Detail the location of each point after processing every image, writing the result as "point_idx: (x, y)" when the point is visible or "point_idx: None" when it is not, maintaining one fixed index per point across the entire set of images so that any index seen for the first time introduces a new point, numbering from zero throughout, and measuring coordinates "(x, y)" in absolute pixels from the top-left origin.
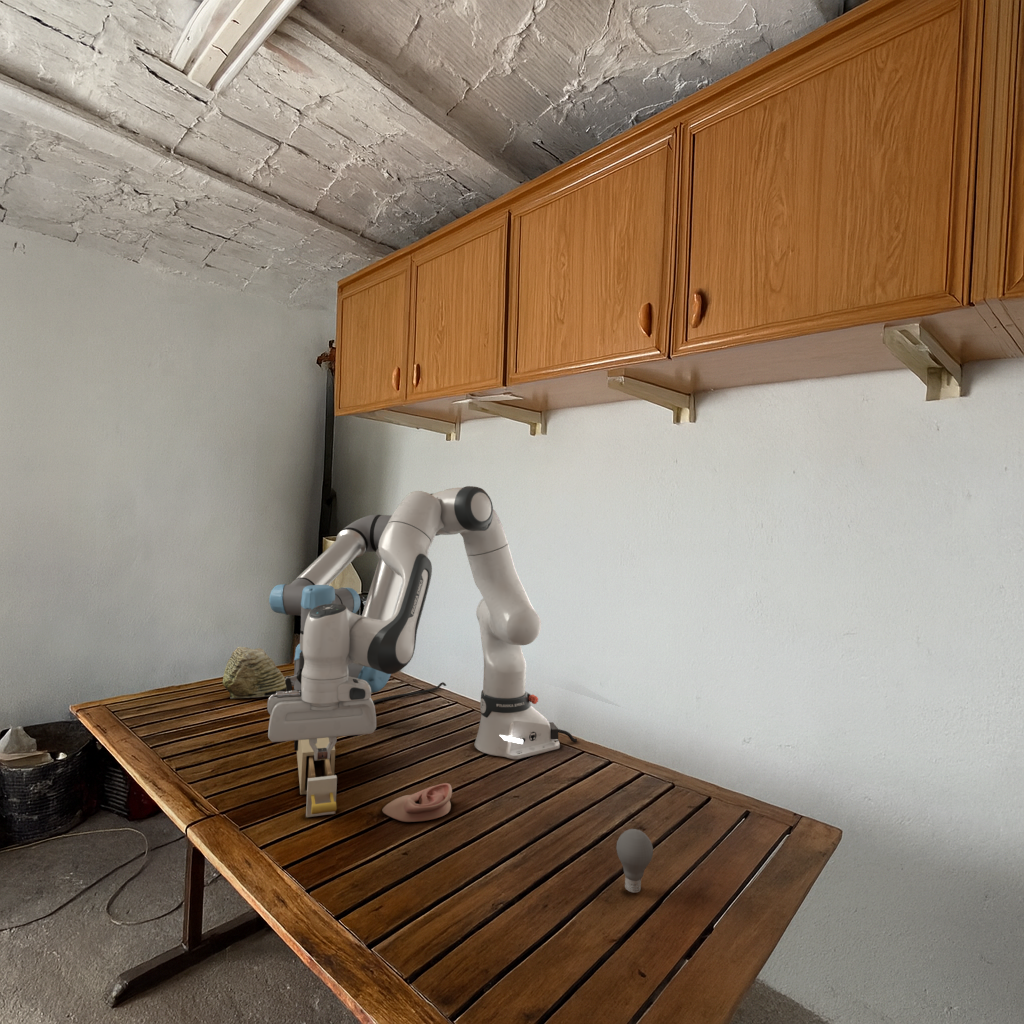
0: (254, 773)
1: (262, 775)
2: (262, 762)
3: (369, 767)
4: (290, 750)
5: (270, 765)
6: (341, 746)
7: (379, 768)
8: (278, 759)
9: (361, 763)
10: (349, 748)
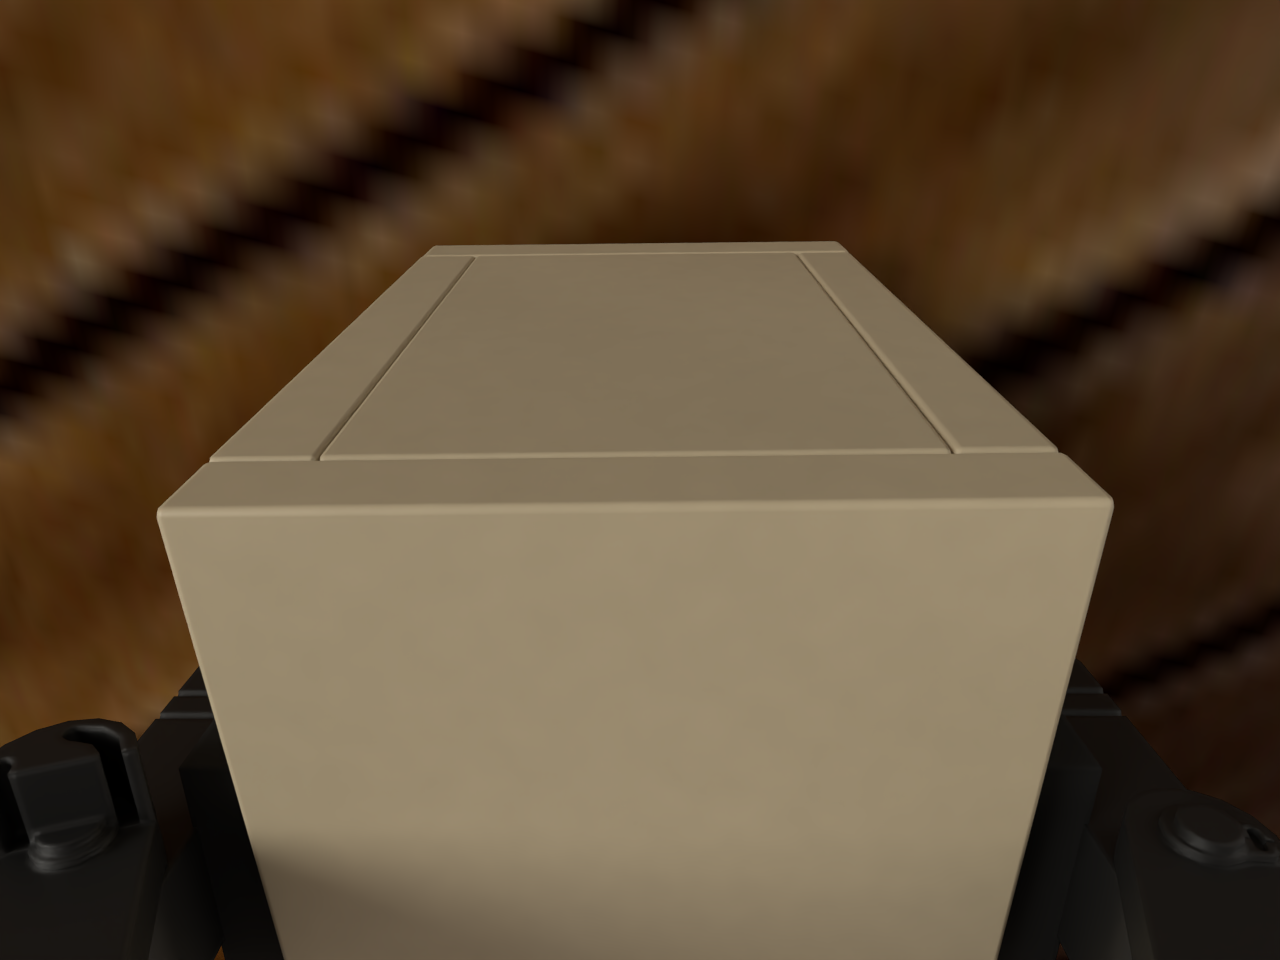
0: (55, 615)
1: (149, 674)
2: (62, 352)
3: (1188, 739)
4: (359, 14)
5: (178, 460)
6: (1090, 46)
7: (1269, 779)
8: (240, 307)
9: (1149, 638)
10: (1172, 159)
